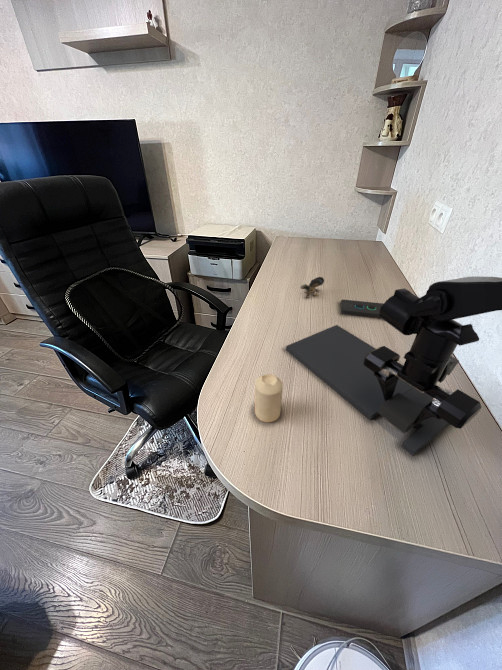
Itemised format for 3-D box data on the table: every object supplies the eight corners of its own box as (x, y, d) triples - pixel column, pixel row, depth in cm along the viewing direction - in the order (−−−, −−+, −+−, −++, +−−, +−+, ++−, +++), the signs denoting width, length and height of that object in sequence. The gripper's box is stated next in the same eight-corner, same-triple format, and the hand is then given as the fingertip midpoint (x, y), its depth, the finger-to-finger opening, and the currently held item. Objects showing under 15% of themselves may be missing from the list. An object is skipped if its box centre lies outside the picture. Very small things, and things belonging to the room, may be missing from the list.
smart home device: (341, 298, 100) (400, 304, 96) (340, 302, 101) (399, 309, 97) (342, 309, 93) (406, 316, 89) (341, 314, 94) (404, 321, 90)
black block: (422, 419, 55) (426, 411, 54) (404, 434, 52) (408, 425, 51) (395, 400, 59) (398, 392, 58) (377, 412, 56) (380, 404, 55)
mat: (466, 410, 61) (469, 405, 60) (412, 456, 52) (415, 451, 51) (336, 328, 87) (336, 324, 86) (285, 350, 78) (286, 345, 77)
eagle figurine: (321, 298, 101) (328, 285, 106) (312, 282, 98) (319, 269, 103) (304, 303, 106) (311, 290, 112) (294, 288, 103) (302, 276, 109)
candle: (271, 427, 57) (273, 393, 51) (249, 414, 60) (249, 380, 54) (285, 410, 61) (288, 377, 55) (264, 398, 63) (265, 365, 58)
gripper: (518, 364, 43) (472, 427, 52) (407, 313, 56) (385, 370, 65) (485, 393, 38) (440, 457, 47) (371, 329, 51) (353, 389, 60)
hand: (401, 412), depth 55 cm, fingers closed on black block, 6 cm apart
